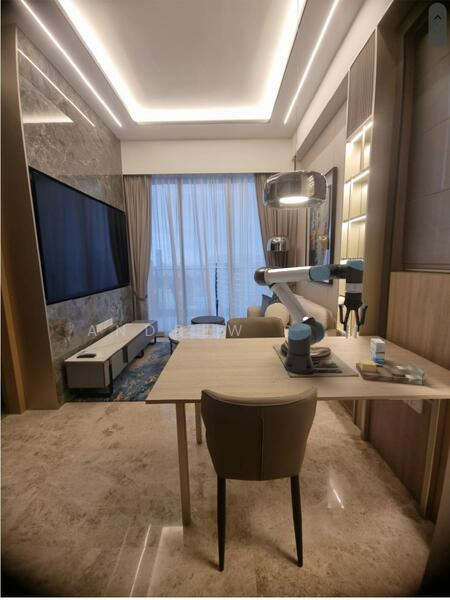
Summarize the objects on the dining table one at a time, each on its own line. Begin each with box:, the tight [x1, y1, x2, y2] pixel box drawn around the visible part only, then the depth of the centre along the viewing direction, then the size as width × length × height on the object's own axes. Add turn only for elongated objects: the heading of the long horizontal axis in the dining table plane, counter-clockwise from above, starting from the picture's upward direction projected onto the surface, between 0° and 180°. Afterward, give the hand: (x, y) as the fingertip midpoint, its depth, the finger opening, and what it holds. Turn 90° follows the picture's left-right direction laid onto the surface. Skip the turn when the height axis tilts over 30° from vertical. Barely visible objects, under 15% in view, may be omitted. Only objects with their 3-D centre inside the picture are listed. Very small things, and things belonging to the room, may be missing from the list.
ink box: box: [369, 338, 386, 364], centre depth 141 cm, size 9×5×12 cm, turn 168°
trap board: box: [355, 360, 425, 386], centre depth 122 cm, size 25×14×6 cm, turn 75°
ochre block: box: [359, 359, 377, 372], centre depth 125 cm, size 6×5×4 cm
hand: (350, 337), depth 124 cm, fingers open, 3 cm apart
